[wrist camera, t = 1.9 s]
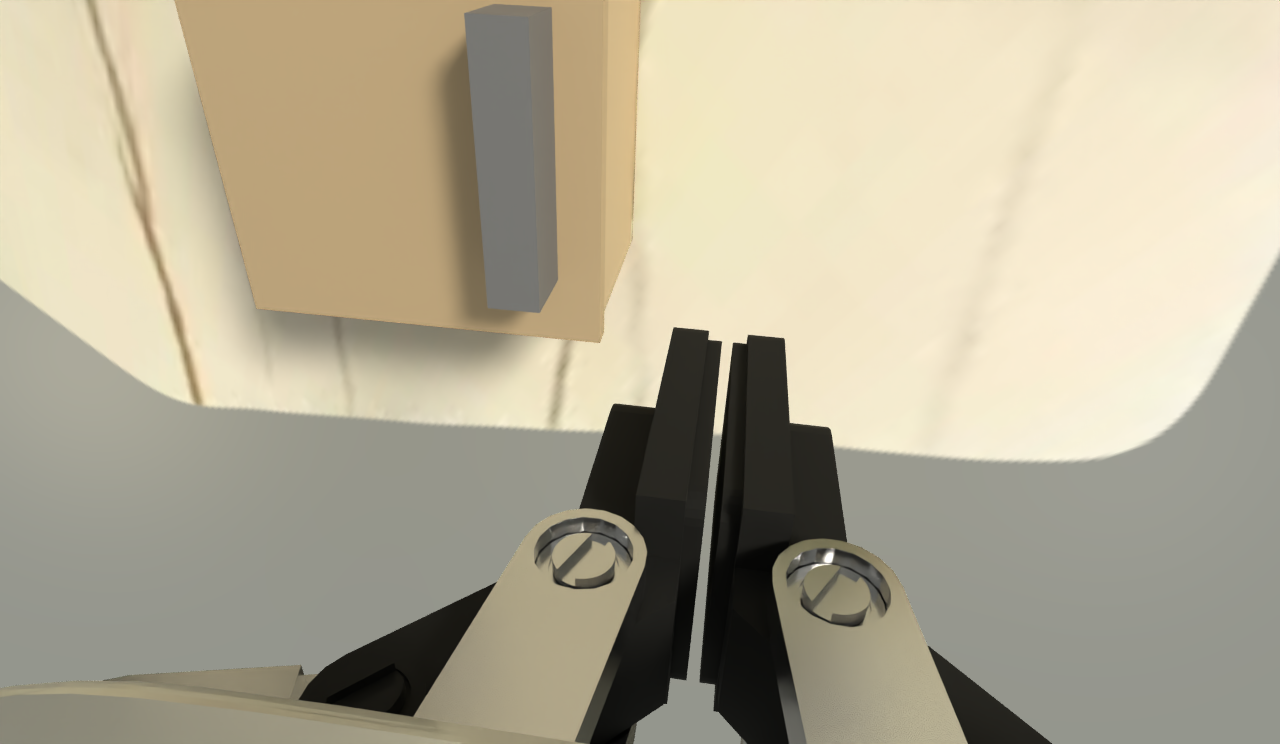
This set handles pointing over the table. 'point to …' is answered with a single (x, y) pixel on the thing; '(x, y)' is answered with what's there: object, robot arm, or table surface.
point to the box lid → (413, 156)
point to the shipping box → (620, 134)
